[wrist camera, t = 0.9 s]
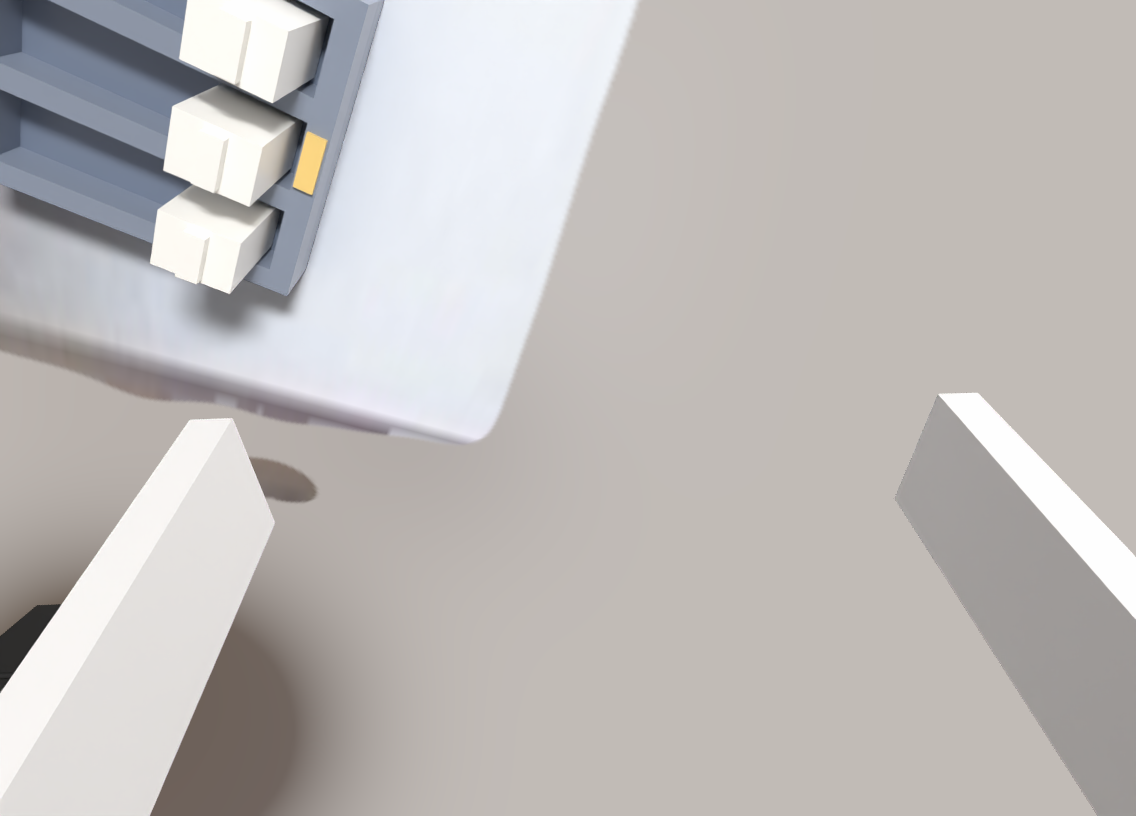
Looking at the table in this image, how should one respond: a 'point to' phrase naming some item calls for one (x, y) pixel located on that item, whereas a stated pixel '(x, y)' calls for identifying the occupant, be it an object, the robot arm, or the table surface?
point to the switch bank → (156, 114)
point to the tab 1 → (255, 43)
